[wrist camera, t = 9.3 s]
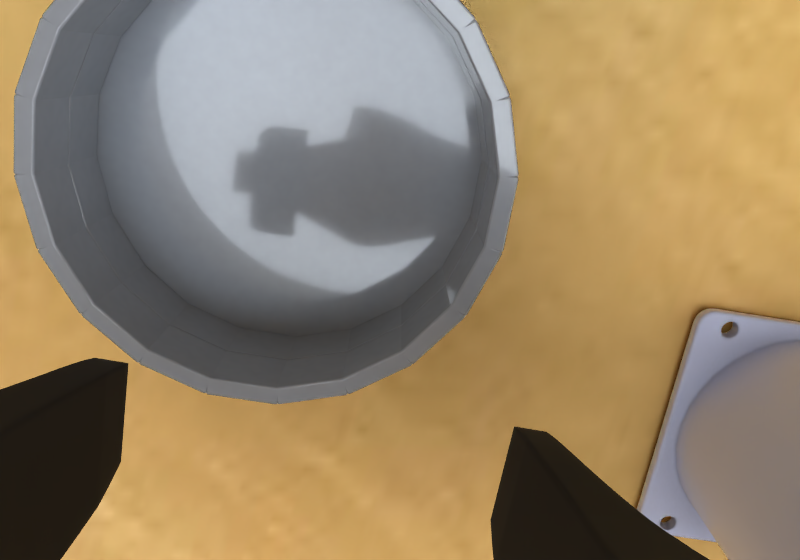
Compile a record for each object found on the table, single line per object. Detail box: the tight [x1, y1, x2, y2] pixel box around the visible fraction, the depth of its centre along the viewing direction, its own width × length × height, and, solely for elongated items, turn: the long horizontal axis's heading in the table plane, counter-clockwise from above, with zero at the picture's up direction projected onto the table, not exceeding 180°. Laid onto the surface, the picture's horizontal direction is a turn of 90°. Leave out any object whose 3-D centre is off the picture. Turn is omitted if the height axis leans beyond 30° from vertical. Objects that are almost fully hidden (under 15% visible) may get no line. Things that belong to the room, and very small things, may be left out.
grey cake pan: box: [14, 0, 519, 404], centre depth 19 cm, size 12×12×4 cm
